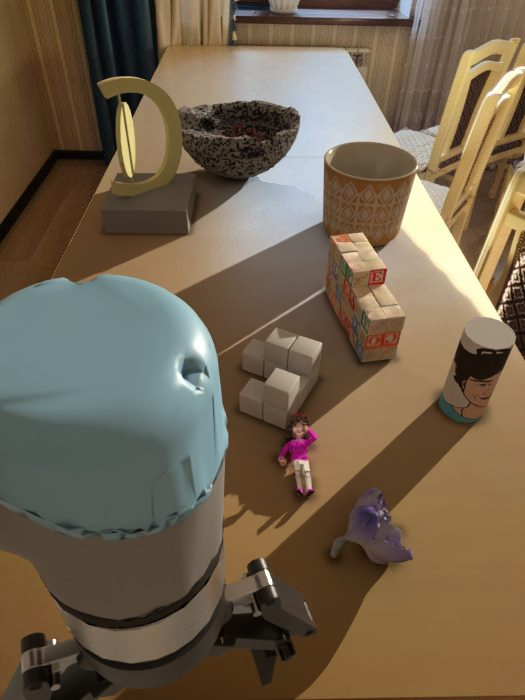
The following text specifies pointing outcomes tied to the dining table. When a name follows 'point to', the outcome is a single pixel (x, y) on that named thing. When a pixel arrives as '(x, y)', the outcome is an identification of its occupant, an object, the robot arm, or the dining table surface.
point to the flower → (373, 531)
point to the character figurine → (299, 449)
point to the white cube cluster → (279, 375)
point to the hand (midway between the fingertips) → (174, 699)
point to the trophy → (147, 188)
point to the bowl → (238, 136)
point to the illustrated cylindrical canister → (476, 368)
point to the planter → (367, 189)
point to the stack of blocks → (363, 297)
